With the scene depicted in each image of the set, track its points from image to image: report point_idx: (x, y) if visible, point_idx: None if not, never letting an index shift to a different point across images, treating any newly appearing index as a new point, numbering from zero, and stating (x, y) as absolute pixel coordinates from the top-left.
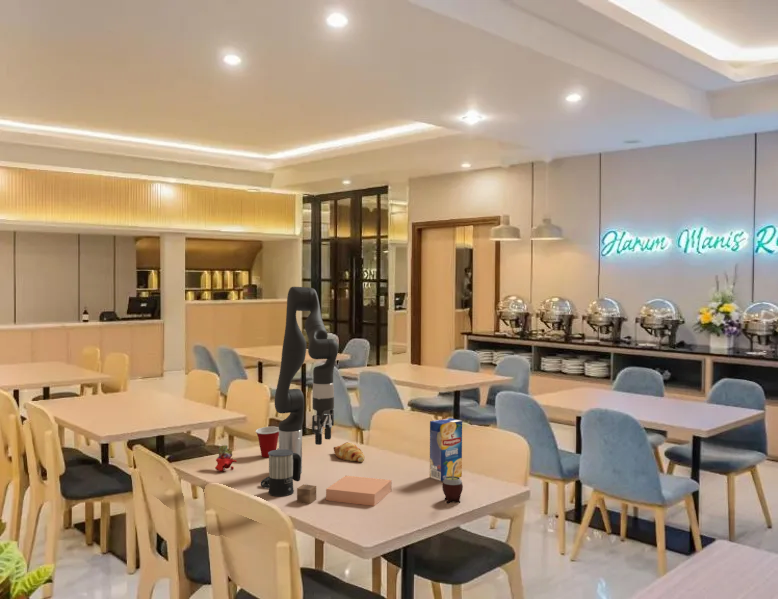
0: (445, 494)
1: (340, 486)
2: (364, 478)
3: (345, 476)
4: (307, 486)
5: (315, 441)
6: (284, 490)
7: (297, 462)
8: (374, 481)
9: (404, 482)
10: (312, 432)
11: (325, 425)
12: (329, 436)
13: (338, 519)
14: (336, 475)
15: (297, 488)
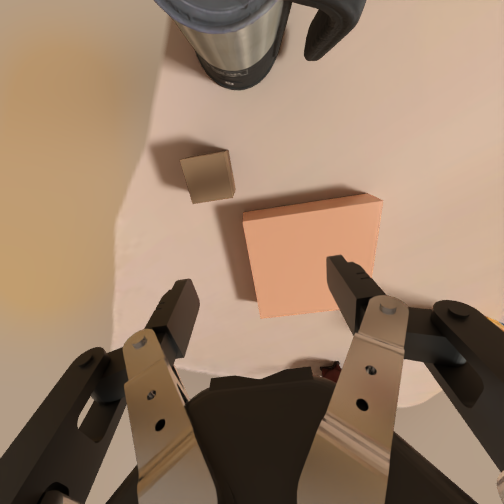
0: (326, 376)
1: (278, 241)
2: (365, 256)
3: (372, 205)
4: (213, 177)
5: (173, 289)
6: (211, 72)
7: (328, 21)
8: None
9: (424, 287)
10: (85, 353)
11: (372, 330)
12: (332, 292)
13: (164, 287)
14: (483, 100)
15: (180, 161)
